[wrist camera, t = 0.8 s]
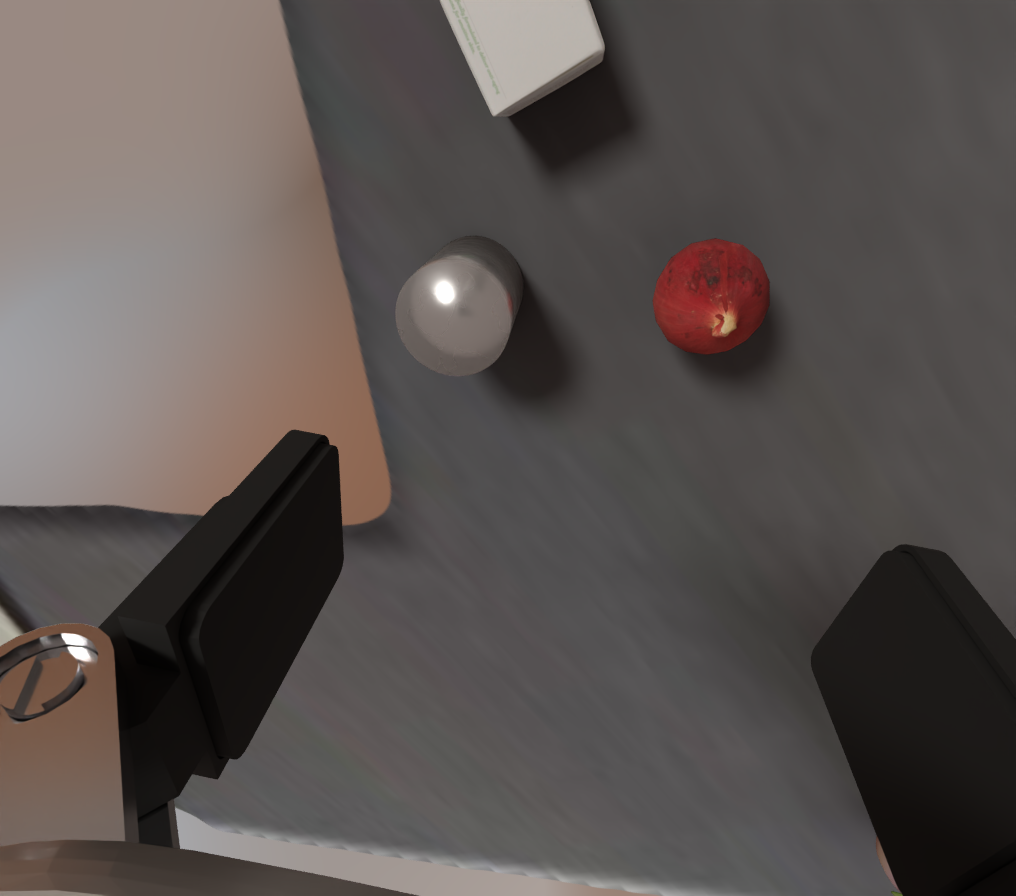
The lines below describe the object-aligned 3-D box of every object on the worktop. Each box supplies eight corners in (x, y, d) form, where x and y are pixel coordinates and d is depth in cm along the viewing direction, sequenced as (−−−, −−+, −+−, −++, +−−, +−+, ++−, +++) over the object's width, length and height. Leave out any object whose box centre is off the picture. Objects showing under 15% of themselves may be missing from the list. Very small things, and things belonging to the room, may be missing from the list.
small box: (453, 1, 26) (428, -21, 22) (559, -76, 24) (554, -116, 20) (506, 122, 29) (492, 122, 25) (606, 60, 27) (610, 50, 23)
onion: (640, 242, 31) (656, 277, 24) (747, 216, 30) (794, 245, 23) (653, 336, 34) (670, 391, 27) (750, 317, 32) (794, 369, 26)
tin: (433, 226, 32) (398, 251, 26) (531, 246, 32) (519, 275, 26) (425, 322, 35) (392, 363, 29) (514, 340, 35) (499, 385, 29)
